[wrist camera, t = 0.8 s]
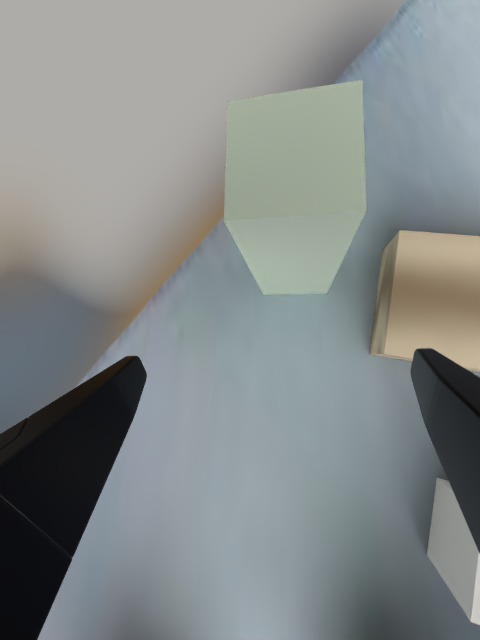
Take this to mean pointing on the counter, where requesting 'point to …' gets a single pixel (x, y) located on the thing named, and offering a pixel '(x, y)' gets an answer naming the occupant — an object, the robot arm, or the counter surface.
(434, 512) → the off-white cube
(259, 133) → the sage pillar
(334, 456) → the counter surface
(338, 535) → the counter surface
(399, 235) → the oak base block
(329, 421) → the counter surface
